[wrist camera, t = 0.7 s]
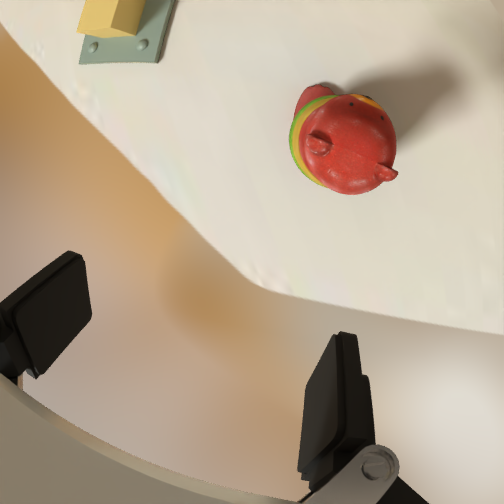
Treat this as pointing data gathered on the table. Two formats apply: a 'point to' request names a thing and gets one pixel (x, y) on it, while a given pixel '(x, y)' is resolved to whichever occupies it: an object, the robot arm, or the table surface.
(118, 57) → the baseplate
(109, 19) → the mustard cube
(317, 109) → the stacking bear
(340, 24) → the table surface
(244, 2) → the table surface
